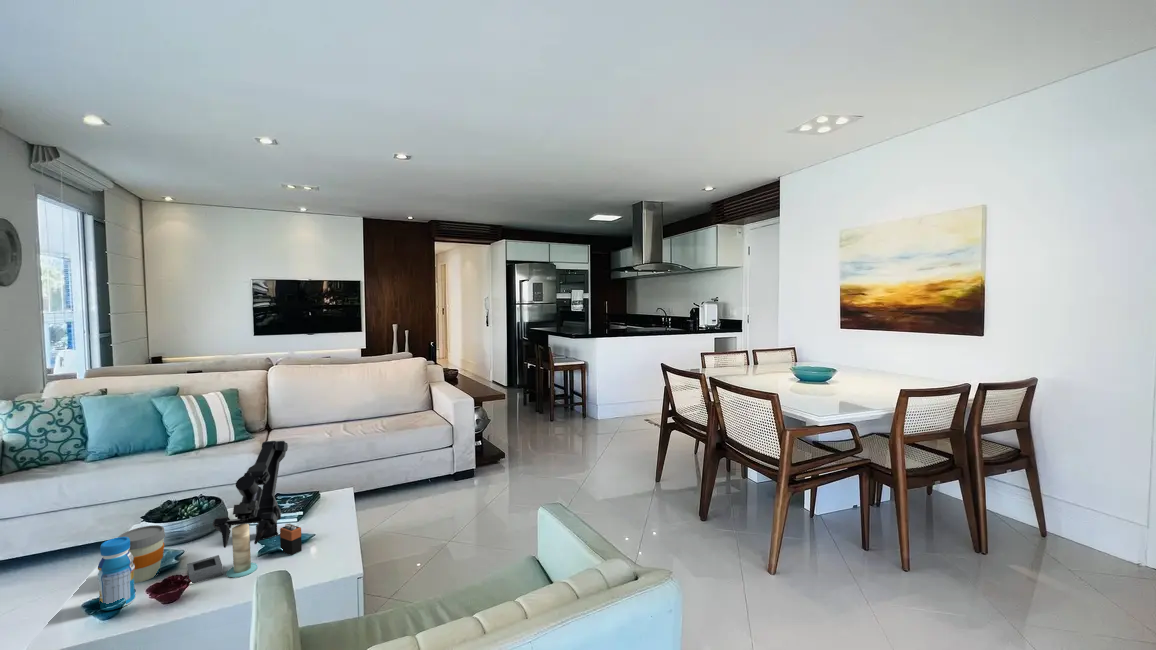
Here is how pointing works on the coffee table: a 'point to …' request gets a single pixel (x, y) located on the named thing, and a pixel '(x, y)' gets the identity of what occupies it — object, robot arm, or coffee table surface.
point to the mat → (232, 574)
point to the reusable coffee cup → (146, 550)
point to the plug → (241, 548)
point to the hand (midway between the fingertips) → (240, 545)
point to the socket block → (204, 569)
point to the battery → (290, 539)
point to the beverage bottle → (116, 571)
